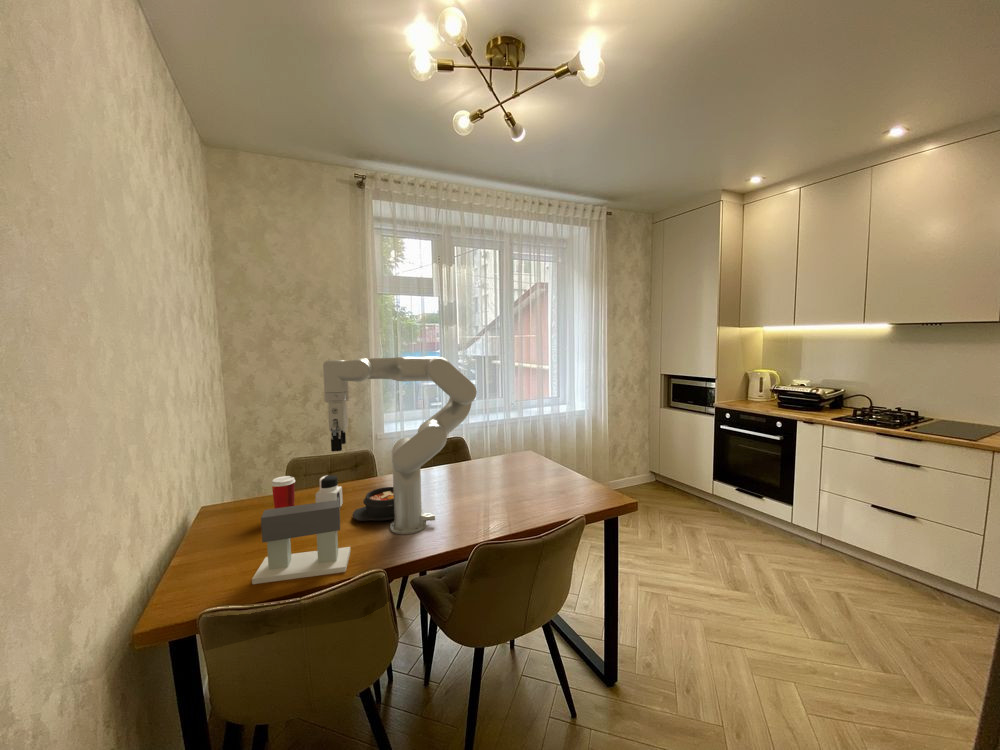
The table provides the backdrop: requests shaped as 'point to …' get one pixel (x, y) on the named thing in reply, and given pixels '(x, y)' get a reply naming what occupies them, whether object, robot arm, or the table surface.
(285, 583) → the table surface
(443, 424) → the robot arm
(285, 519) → the bar
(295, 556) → the stand
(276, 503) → the coffee cup
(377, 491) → the casserole
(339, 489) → the container
